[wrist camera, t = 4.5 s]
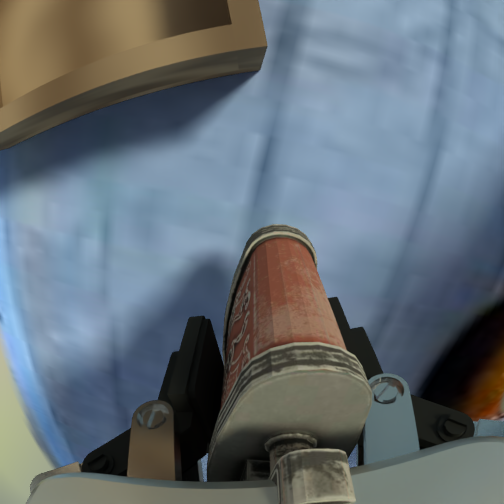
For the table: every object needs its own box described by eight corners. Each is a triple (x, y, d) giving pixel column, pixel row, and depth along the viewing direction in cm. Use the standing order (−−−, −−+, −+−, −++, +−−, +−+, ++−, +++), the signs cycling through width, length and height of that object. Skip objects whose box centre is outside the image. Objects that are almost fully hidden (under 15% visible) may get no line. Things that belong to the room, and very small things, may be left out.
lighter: (284, 383, 15) (300, 577, 6) (216, 375, 15) (194, 574, 6) (328, 231, 12) (459, 482, 3) (239, 217, 12) (208, 504, 3)
